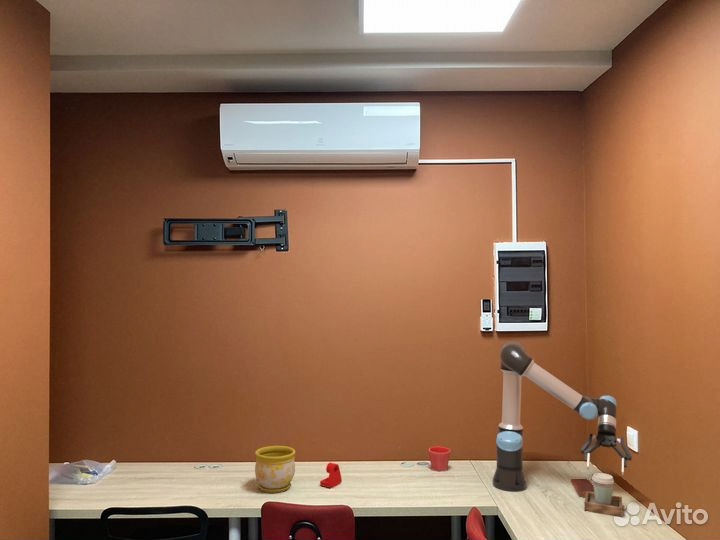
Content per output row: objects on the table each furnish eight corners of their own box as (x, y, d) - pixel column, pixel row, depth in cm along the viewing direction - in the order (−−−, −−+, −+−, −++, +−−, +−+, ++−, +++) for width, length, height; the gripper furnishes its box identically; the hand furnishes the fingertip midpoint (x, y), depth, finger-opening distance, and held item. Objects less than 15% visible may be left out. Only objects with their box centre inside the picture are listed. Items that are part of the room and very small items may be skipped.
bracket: (331, 480, 258) (331, 459, 258) (341, 483, 254) (341, 461, 255) (319, 486, 251) (319, 464, 251) (329, 489, 247) (330, 466, 247)
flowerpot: (246, 491, 243) (247, 454, 243) (267, 478, 259) (268, 443, 260) (282, 497, 236) (282, 459, 237) (301, 484, 253) (302, 448, 253)
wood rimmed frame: (584, 511, 225) (584, 502, 226) (586, 499, 238) (586, 491, 238) (622, 517, 219) (622, 508, 220) (622, 505, 232) (621, 496, 232)
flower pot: (451, 472, 271) (452, 452, 271) (429, 472, 271) (429, 452, 272) (448, 465, 282) (448, 446, 282) (427, 465, 282) (427, 446, 282)
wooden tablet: (603, 501, 238) (603, 497, 238) (579, 499, 240) (579, 495, 240) (590, 480, 264) (590, 476, 264) (568, 478, 266) (568, 475, 266)
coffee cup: (596, 499, 235) (596, 471, 235) (617, 505, 229) (617, 476, 229) (588, 504, 229) (588, 475, 229) (609, 510, 223) (609, 480, 223)
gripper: (637, 436, 246) (637, 480, 232) (577, 428, 257) (574, 470, 243) (637, 426, 241) (637, 471, 227) (577, 419, 252) (573, 461, 238)
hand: (605, 470), depth 235 cm, fingers open, 13 cm apart
